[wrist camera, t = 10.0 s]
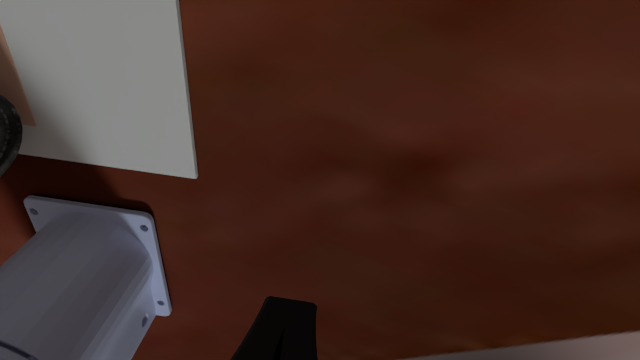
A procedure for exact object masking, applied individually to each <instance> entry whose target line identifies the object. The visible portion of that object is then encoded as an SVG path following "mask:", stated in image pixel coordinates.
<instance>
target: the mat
mask: <svg viewBox="0 0 640 360" xmlns="http://www.w3.org/2000/svg"><path fill="white" fill-rule="evenodd" d="M0 95H2V96H4V97H5V98H6V99H7V100H8V101H9V102H10V103H12V104H13V105H14V107H15V109H16V110H17V112H18V114H19V115H20V119H21V123H22V127H23V133H22V143H21V146H20V149H19V152H18V154H23V155H30V156H38V157H45V158H52V159H59V160H66V161H73V162H80V163H87V164H94V165H101V166H108V167H115V168H123V169H130V170H137V171H144V172H151V173H158V174H165V175H172V176H179V177H186V178H193V179H196V178H197V177H198V170H197V161H196V152H195V143H194V134H193V125H192V116H191V107H190V98H189V89H188V80H187V71H186V62H185V53H184V43H183V34H182V25H181V16H180V7H179V0H0Z"/></svg>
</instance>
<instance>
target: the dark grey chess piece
mask: <svg viewBox="0 0 640 360" xmlns="http://www.w3.org/2000/svg"><path fill="white" fill-rule="evenodd" d="M22 133H23V127H22V123H21V119H20V115H19V114H18V112H17V110H16V109H15V107H14V105H13V104H12V103H10V102H9V101H8V100H7V99H6V98H5V97H4V96H2V95H0V177H1V176H2V175H3V174H4V173H5V172H6V171H7V170H8V168H9V167H10V166H11V165H12V163H13V161H14V160H15V158H16V156H17V155H18V152H19V149H20V146H21V143H22Z"/></svg>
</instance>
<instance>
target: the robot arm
mask: <svg viewBox="0 0 640 360" xmlns="http://www.w3.org/2000/svg"><path fill="white" fill-rule="evenodd" d="M23 202H24V205H25V208H26V210H27V212H28V215H29V217H30V219H31V222H32V224H33V226H34V229H35V231H36V234H35V235H34V236H33V237H32V238H31V239H29V240H28V241H27V242H26V243H25V244H24V245H23V246H22V247H21V248H20V249H19V250H18V251H17V252H15V253H14V254H13V255H12V256H11V257H10V258H9V259H8V260H7V261H6V262H5V263H4V264H2V265H1V266H0V360H131V359H132V357H133V355H134V353H135V351H136V350H137V348H138V346H139V344H140V343H141V341H142V339H143V337H144V335H145V334H146V332H147V330H148V328H149V326H150V325H151V323H152V321H153V319H154V317H155V316H156V315H160V316H168V315H169V314H170V313H171V311H172V308H171V303H170V298H169V294H168V289H167V284H166V279H165V274H164V269H163V264H162V259H161V254H160V249H159V244H158V239H157V234H156V230H155V225H154V220H153V217H152V216H151V215H150V214H149V213H147V212H142V211H135V210H128V209H122V208H115V207H108V206H101V205H94V204H88V203H81V202H74V201H67V200H60V199H53V198H47V197H40V196H33V195H30V196H28V197H27V198H25V199H24V201H23ZM144 225H145V226H144ZM146 226H147V227H146ZM316 311H317V306H316V305H315V304H314V303H311V302H304V301H298V300H291V299H285V298H279V297H272V296H269V297H267V298H266V299H265V301H264V304H263V306H262V308H261V310H260V312H259V314H258V316H257V317H256V319H255V321H254V323H253V325H252V326H251V328H250V330H249V331H248V333H247V335H246V336H245V338H244V340H243V341H242V343H241V345H240V346H239V348H238V349H237V351H236V352H235V354H234V355H233V357H232V358H231V360H317V348H316Z"/></svg>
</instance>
